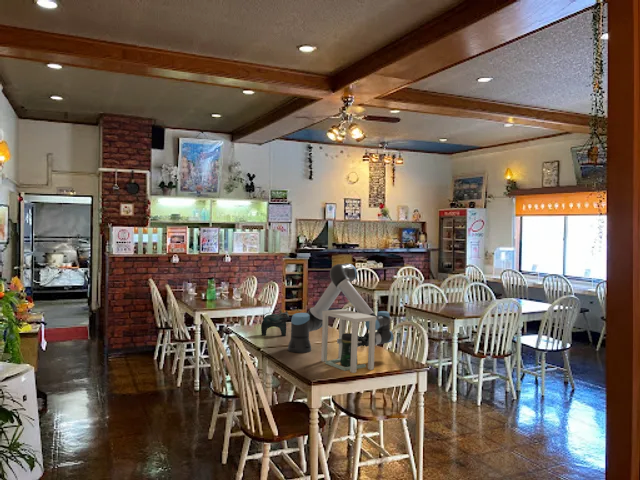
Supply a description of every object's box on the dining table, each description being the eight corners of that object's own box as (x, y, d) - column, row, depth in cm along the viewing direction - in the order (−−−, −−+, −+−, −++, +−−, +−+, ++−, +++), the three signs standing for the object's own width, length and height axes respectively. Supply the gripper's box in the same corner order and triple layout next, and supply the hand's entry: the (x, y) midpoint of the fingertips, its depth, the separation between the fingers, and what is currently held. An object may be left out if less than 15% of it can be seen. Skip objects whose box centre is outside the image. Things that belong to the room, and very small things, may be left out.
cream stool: (351, 373, 281) (353, 319, 280) (319, 361, 305) (320, 310, 304) (374, 369, 291) (376, 316, 290) (341, 357, 315) (343, 309, 315)
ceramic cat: (288, 335, 378) (289, 307, 377) (287, 336, 371) (288, 309, 371) (261, 334, 377) (262, 307, 377) (260, 336, 371) (261, 308, 370)
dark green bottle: (344, 367, 293) (345, 335, 292) (338, 364, 300) (339, 332, 300) (359, 366, 297) (360, 334, 296) (353, 362, 304) (354, 331, 304)
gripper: (386, 348, 299) (359, 353, 286) (358, 341, 319) (331, 346, 306) (386, 335, 299) (359, 340, 286) (358, 329, 319) (331, 333, 306)
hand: (344, 343), depth 296 cm, fingers open, 13 cm apart
